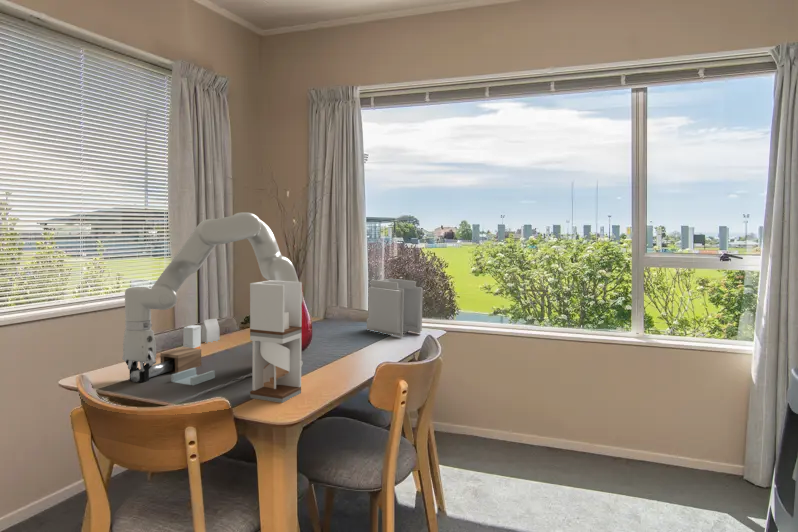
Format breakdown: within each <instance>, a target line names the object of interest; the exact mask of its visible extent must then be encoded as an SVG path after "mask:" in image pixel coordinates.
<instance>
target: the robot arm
mask: <svg viewBox="0 0 798 532" xmlns="http://www.w3.org/2000/svg"><path fill="white" fill-rule="evenodd" d="M243 240H248V242H249V243H250V245H251V247H252V250H253V252H254V256H255V258H256V262H257V263H258V268H259V270H260V271H259V272H260V274H261V276H262V277H263V278H264V279H265V280H266V281H269V280H273V281H290V282H300V281H299V278H298V274H297V271H296V268H295V266H294V264H293V263H292V261H291V260H290V259H289V258H288V257H286V256H285V255H282V253H281V251H280V248H279V244H278V242H277V239H276V237H275V235H274V233H273V231H272V229H271V228H270V226H268V224H267V223H266V222H264V221H263V220H261V218H259V216H257V215H256V214H255V213H252V212H248V211H247V212H242V211H241V212H236V213H234V214H233V215H230V216H225V217H220V218H210V219H209V218H208V219H204V220H202V221H201V222H199V223H198V225H197V226H196V227H195V228H194V230H193V231H192V233H191V234H190V236H188V239H187V240H186V241H185V243H184V244H183V245H182V247H181V249H180V250H179V251H178V253H177V254H176V255H175V257H173V258H172V260H171V262H169V264H168V265H167V266H166V268H165V269H163V271H162V273H161V274H160V275H159V277H158V278H157V280H156V281H155V283H154V284H153V285H152V286H151V288H149V287H147V286H133V287H127V288H126V289H125V291H124V320H125V321H124V323H125V326H124V327H125V329H124V333H123V341H122V342H123V343H122V353H123V354H122V357H121V358H122V360H123V361H124V362H125V363H126V365H127V368H128V370H129V375H130V374H131V372H133V371H136V370H139V369H141V371H140V372H139V376H140V381H139V383H140V384H142V383H144V382H148V381H150V378H149V370H150V368H151V366H152V365H156V364H157V360H156V359H157V346H156V339H155V338H156V337H155V332H154V330H153V329H152V327H153V324H152V310H159V311H161V310H162V311H165V310H170V309H172V308H174V307H175V306H176V304H177V302H178V295H177V292H178V290H179V289H180V288H181V286H182V284H184V282H185V281H186V280H187V279H188V278H189V277H190V276H191V275H193V274H195V273H196V272H197V271H198V270H200V269H201V267H202V266H203V265H204V263H205V262H206V260H207V259H208V257H209V255H211V253H212V251H214V250H215V247H216V246H218V245H224V244H230V243H234V242H239V241H243ZM303 297H304V296H303V293H302V302H303V300H304V298H303ZM138 364H139V366H140V368H139V367H138ZM303 364H304V361H303V360H301V368H302V366H303ZM129 382H133V381H132V380H131V378H130V377H129Z"/></svg>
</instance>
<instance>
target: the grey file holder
mask: <svg viewBox="0 0 798 532" xmlns="http://www.w3.org/2000/svg"><path fill="white" fill-rule="evenodd" d="M370 281H371V282H370V286H369V287H368V306H367V307H368V313H367V314H368V317H367V318H366V330H367V329H369V330H374V331H378V332H382V333H386V334H389V335H391V334H393V335H392V336H398V337H404V334H407V333H406V332H408V333H409V332H413V333H417V334H421V332H422V331H423V296H424V295H423V293H424V292H423V290H424V289H423V287H421V286H419V287H418V286H417V282H416V281H414V280H407V279H397V278H390V277H388V279H371V280H370ZM403 333H404V334H403Z"/></svg>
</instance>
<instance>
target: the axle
mask: <svg viewBox="0 0 798 532" xmlns="http://www.w3.org/2000/svg"><path fill="white" fill-rule="evenodd" d="M172 370H175V359H172V360H169V361H165V362H162V363H161V362H159V363H155V364H154V365H152V366H151V368H150V370H149V379H151V378H153V377H157V376H159V375H162V374H165V373H166V374H167V373H168V372H169V371H172ZM140 371H141V368H139V370H136V371H133V372H131V374H130V373H129V379H130V378H131V380H132V381H131V382H133V383H140V376H139V372H140ZM169 373H170V372H169Z"/></svg>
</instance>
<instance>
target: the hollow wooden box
mask: <svg viewBox="0 0 798 532" xmlns="http://www.w3.org/2000/svg"><path fill="white" fill-rule="evenodd" d="M159 354H160V356H159V357H160V363H162V362H165V361H169V360H172V359H175V370H172V371H169V373H174V374H175V373H178V372H181V371H185V370H188V369H191V368H196V369H197V368H199V367H201V366H202V348H201V349H196V348H189V347H183V346H182V347H178V348H175V349H171V350H167V351H162V352H160V353H159Z"/></svg>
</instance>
